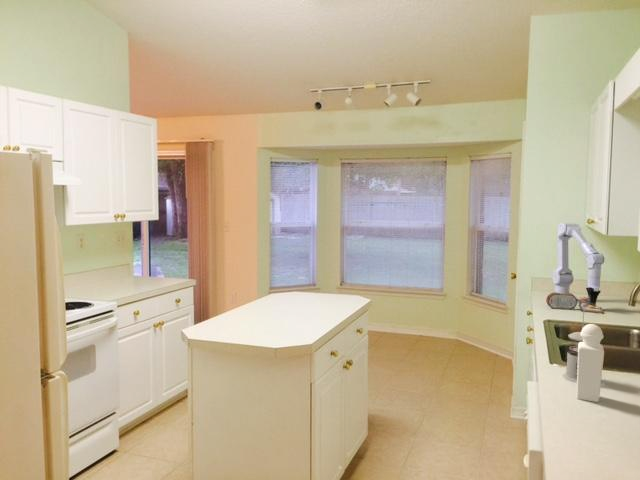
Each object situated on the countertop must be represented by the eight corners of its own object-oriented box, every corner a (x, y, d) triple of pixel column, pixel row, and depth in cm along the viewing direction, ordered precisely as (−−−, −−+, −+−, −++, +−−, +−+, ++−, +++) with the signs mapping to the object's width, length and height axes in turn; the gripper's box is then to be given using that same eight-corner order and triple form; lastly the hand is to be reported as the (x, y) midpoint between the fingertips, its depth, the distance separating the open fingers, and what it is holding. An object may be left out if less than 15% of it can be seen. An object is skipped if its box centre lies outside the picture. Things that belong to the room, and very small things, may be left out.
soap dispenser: (574, 391, 154) (579, 320, 152) (599, 395, 151) (604, 323, 149) (575, 399, 148) (580, 325, 146) (600, 403, 145) (606, 328, 143)
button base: (578, 304, 277) (579, 299, 277) (589, 305, 275) (589, 300, 275) (578, 306, 273) (579, 300, 273) (589, 307, 271) (589, 301, 270)
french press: (555, 374, 169) (560, 300, 166) (585, 371, 172) (590, 299, 169) (577, 385, 159) (582, 306, 157) (608, 382, 162) (614, 305, 160)
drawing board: (580, 306, 272) (580, 304, 272) (601, 308, 268) (601, 307, 268) (580, 311, 261) (580, 309, 261) (602, 313, 257) (603, 311, 257)
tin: (575, 308, 268) (576, 293, 267) (577, 310, 264) (578, 294, 264) (545, 307, 269) (546, 291, 268) (547, 308, 266) (548, 293, 265)
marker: (590, 305, 267) (591, 289, 267) (596, 307, 265) (597, 290, 264) (587, 306, 265) (588, 289, 265) (594, 307, 263) (595, 290, 262)
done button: (579, 301, 277) (579, 296, 276) (588, 302, 275) (588, 297, 275) (579, 303, 273) (580, 298, 273) (589, 304, 271) (589, 299, 271)
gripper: (582, 274, 272) (581, 298, 273) (588, 278, 258) (586, 304, 259) (597, 274, 270) (595, 300, 271) (604, 279, 256) (602, 305, 257)
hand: (592, 302), depth 265 cm, fingers closed on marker, 3 cm apart
